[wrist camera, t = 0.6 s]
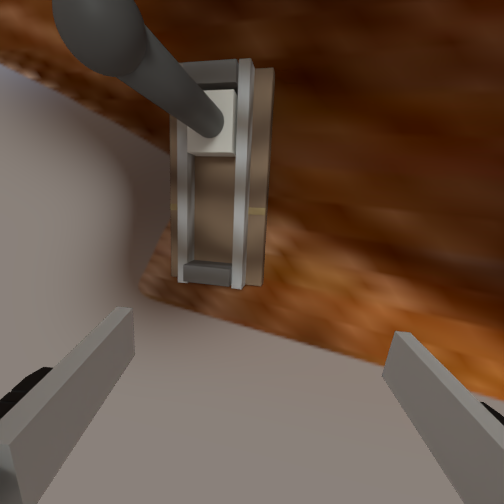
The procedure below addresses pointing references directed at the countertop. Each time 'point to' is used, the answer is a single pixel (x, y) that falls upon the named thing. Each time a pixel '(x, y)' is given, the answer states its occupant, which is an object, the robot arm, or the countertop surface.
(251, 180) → the rail base
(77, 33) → the slider
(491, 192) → the countertop surface
